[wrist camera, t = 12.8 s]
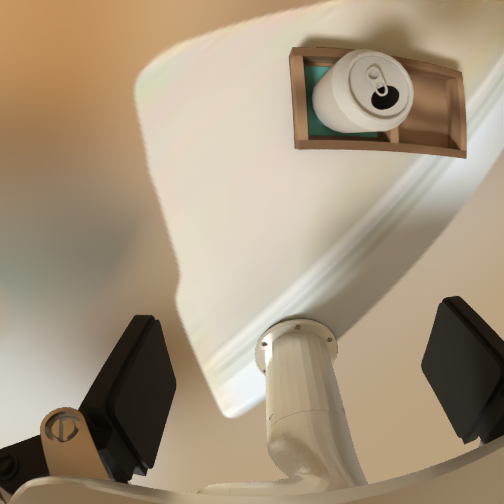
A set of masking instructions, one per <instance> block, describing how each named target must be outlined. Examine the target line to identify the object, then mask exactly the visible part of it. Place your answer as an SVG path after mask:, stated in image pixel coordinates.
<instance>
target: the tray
mask: <svg viewBox="0 0 504 504" xmlns="http://www.w3.org/2000/svg"><path fill="white" fill-rule="evenodd" d="M352 51H355V50H352V49H341V48H327V47H317V48H301V47H292V50H291V53H290V55H289V65H290V77H291V91H292V105H293V122H294V141H295V149H299V150H300V149H344V150H375V151H393V152H408V153H420V154H430V155H440V156H449V157H457V158H464V159H466V152H467V140H466V111H465V98H464V87H463V78H462V72H459V71H455V70H452V69H448V68H445V67H441V66H437V65H433V64H429V63H425V62H420V61H416V60H411V59H406V58H401V57H395V56H391V57H393V58H394V59H395V60H397V61H398V62H399V63H400V64H401V65H402V66H403V67H404V68H405V70H406V71H407V72H408V74H409V76H410V79H411V81H412V84H413V90H414V98H413V105H412V107H411V110H410V112H409V114H408V115H407V117H406V119H405V120H404V121H403V122H402V123H401V124H400V125H399V126H397V127H396V128H393V129H390V130H388V131H376V132H358V133H341V132H337V131H333V130H332V129H330V128H329V127H327V126H325V125H324V124H323V123H322V122H321V120H320V119H319V118H318V117H317V115H316V113H315V111H314V109H313V103H312V94H313V89H314V87H315V85H316V83H317V82H318V80H319V79H320V78H321V77H322V76H323V75H324V74H325V73H326V72H327V71H328V70H329V69H330V68H331V67H332V66H333V65H334V64H335V63H336V62H338V61H339V60H340V59H341V58H342V57H343V56H345V55H346V54H347V53H349V52H352Z"/></svg>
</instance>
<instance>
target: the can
mask: <svg viewBox="0 0 504 504" xmlns="http://www.w3.org/2000/svg"><path fill="white" fill-rule="evenodd" d="M413 98H414V90H413V84H412V81H411V79H410V76H409V74H408V72H407V71H406V70H405V68H404V67H403V66H402V65H401V64H400V63H399V62H398V61H397V60H395V59H394V58H393V57H391V56H389V55H387V54H384V53H382V52H378V51H376V50H371V49H359V50H355V51H352V52H349V53H347V54H346V55H345V56H343V57H342V58H341V59H340V60H339V61H338V62H336V63H335V64H334V65H333V66H332V67H331V68H330V69H329V70H328V71H327V72H326V73H325V74H324V75H323V76H322V77H321V78H320V79H319V80H318V82H317V83H316V85H315V87H314V89H313V94H312V103H313V109H314V111H315V113H316V115H317V117H318V118H319V119H320V120H321V122H322V123H323V124H324V125H325V126H327V127H329V128H330V129H332V130H333V131H337V132H341V133H358V132H376V131H388V130H390V129H393V128H396V127H397V126H399V125H400V124H401V123H402V122H403V121H404V120H405V119H406V117H407V115H408V114H409V112H410V110H411V107H412V105H413Z"/></svg>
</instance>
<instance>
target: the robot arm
mask: <svg viewBox="0 0 504 504" xmlns="http://www.w3.org/2000/svg"><path fill="white" fill-rule="evenodd" d="M337 353H338V346H337V342H336V339H335V337H334V335H333V333H332V332H331V330H330V329H328V328H327V327H326V326H325V325H323V324H321V323H319V322H316V321H313V320H307V319H294V320H288V321H285V322H282V323H279V324H277V325H275V326H273V327H271V328H270V329H269V330H267V331H266V332H265V333H264V334H263V335H262V336H261V337H260V339H259V341H258V343H257V345H256V349H255V361H256V364H257V367H258V368H259V370H260V371H261V372H262V373H263V374H264V375H265V376H266V429H267V430H266V432H267V433H266V436H267V449H268V453H269V455H270V457H271V459H272V461H273V462H274V463H275V465H276V466H277V467H278V468H279V469H280V470H281V471H282V472H283V473H284V474H286V475H287V476H288V477H289V479H281V480H278V481H266V482H246V483H219V484H212V485H209V486H206V487H204V488H202V489H201V490H199V491H198V492H197V494H191V493H181V492H173V491H166V490H159V489H153V488H148V487H142V486H137V485H132V484H131V482H130V480H131V479H132V476H133V474H137V475H142V476H146V474H147V470H148V468H149V469H152V468H153V466H154V463H155V459H156V456H157V452H158V448H159V445H160V441H161V438H162V435H163V431H164V428H165V424H166V420H167V417H168V414H169V411H170V407H171V404H172V400H173V397H174V394H175V390H176V378H175V375H174V372H173V369H172V365H171V362H170V358H169V354H168V351H167V347H166V343H165V340H164V336H163V332H162V328H161V324H160V321H159V320H155V318H154V317H153V316H152V315H135V316H134V317H133V319H132V320H131V322H130V324H129V325H128V327H127V328H126V330H125V331H124V333H123V335H122V336H121V338H120V339H119V341H118V343H117V344H116V346H115V347H114V349H113V351H112V352H111V354H110V356H109V357H108V359H107V361H106V362H105V364H104V365H103V367H102V369H101V371H100V372H99V374H98V376H97V377H96V379H95V381H94V382H93V384H92V386H91V388H90V389H89V391H88V393H87V395H86V397H85V398H84V400H83V402H82V404H81V405H80V407H79V409H78V410H77V409H74V408H71V407H63V408H58V409H56V410H53V411H51V412H50V413H49V414H48V415H46V417H45V418H44V419H43V421H42V423H41V426H40V435H37V436H35V437H32V438H30V439H27V440H24V441H21V442H19V443H16V444H13V445H11V446H7V447H5V448H2V449H0V504H504V341H503V340H502V339H501V338H500V337H499V336H498V334H497V333H496V332H495V331H494V330H493V329H492V328H491V327H490V326H489V325H488V324H487V323H486V322H485V321H484V320H483V319H482V318H481V317H480V316H479V315H478V314H477V313H476V312H475V311H474V310H473V309H472V308H471V307H470V306H469V305H468V304H467V303H466V302H465V301H464V300H463V299H462V298H461V297H459V296H453V297H447V298H444V299H443V301H442V303H440V304H439V306H438V310H437V314H436V317H435V321H434V324H433V328H432V331H431V335H430V338H429V341H428V344H427V348H426V351H425V354H424V357H423V360H422V364H421V367H422V371H423V373H424V375H425V377H426V378H427V380H428V382H429V384H430V385H431V387H432V389H433V391H434V392H435V394H436V396H437V398H438V400H439V402H440V403H441V405H442V407H443V409H444V411H445V413H446V414H447V417H448V419H449V421H450V422H451V424H452V426H453V428H454V430H455V432H456V434H457V436H458V437H459V438H462V440H463V442H464V444H466V443H469V442H471V441H474V440H476V439H477V438H478V436H479V437H480V439H481V441H480V445H479V448H477V449H474V450H472V451H470V452H468V453H465V454H463V455H461V456H458V457H456V458H453V459H451V460H448V461H445V462H443V463H440V464H437V465H434V466H432V467H429V468H426V469H423V470H420V471H417V472H413V473H410V474H407V475H403V476H400V477H396V478H392V479H388V480H385V481H380V482H376V483H372V484H368V482H367V480H366V478H365V476H364V473H363V471H362V469H361V466H360V463H359V461H358V458H357V455H356V452H355V449H354V445H353V441H352V438H351V434H350V430H349V426H348V422H347V418H346V414H345V410H344V406H343V402H342V399H341V395H340V391H339V387H338V384H337V380H336V376H335V373H334V369H333V363H334V362H335V360H336V357H337Z"/></svg>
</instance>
